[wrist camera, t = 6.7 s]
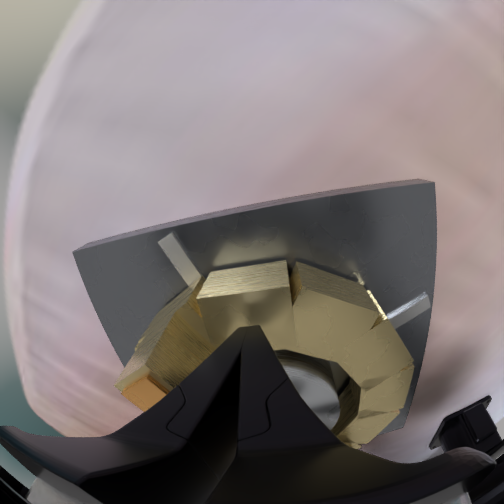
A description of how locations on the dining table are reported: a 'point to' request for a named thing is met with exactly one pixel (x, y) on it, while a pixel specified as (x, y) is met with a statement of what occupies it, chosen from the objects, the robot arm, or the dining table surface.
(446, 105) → the dining table surface
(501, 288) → the dining table surface
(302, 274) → the ring nut
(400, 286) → the grey peg base plate
